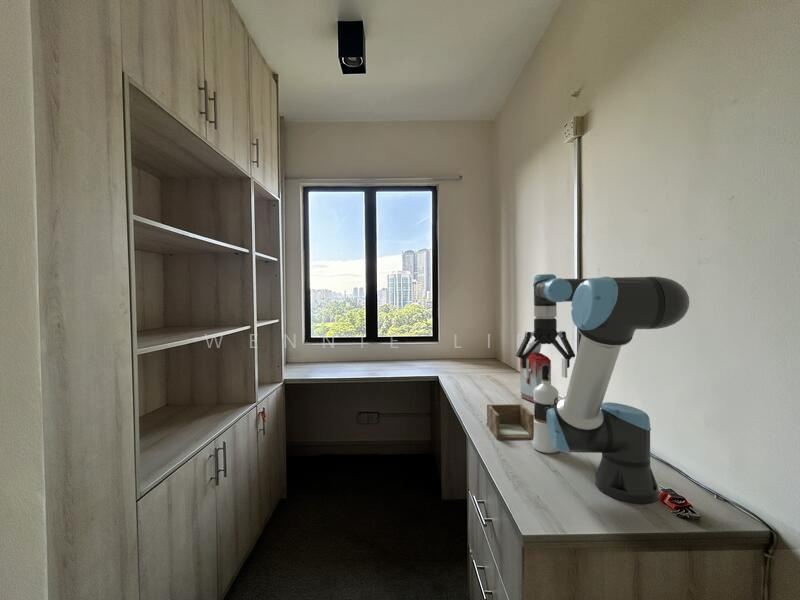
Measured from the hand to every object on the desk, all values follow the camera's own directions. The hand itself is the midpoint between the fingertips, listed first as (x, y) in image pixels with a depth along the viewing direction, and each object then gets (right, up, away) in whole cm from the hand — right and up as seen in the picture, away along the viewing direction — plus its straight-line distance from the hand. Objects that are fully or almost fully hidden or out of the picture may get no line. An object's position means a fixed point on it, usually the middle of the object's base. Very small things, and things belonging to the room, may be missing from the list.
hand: (545, 377), depth 132 cm
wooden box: (-8, -26, +17) cm, 32 cm away
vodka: (0, -26, 0) cm, 26 cm away
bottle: (+19, -25, +61) cm, 69 cm away
